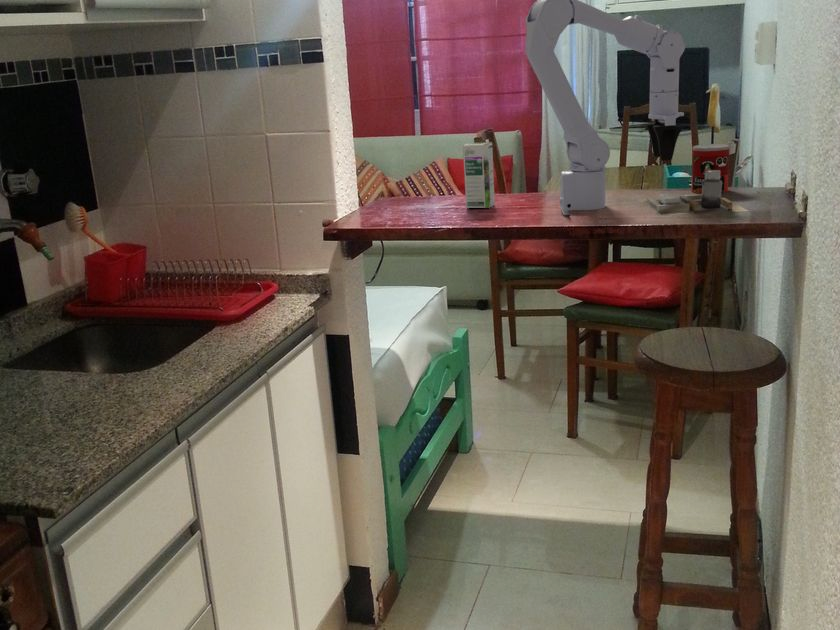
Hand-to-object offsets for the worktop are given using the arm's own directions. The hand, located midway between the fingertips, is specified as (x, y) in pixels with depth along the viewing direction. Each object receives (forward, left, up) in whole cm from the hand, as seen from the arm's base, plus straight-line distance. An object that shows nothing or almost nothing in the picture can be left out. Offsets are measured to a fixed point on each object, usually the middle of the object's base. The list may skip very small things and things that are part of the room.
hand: (662, 158), depth 173 cm
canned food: (+12, +8, -10) cm, 18 cm away
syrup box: (-39, +9, -10) cm, 41 cm away
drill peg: (+7, -14, -8) cm, 18 cm away
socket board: (+5, -9, -10) cm, 14 cm away
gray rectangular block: (-1, -10, -9) cm, 13 cm away
